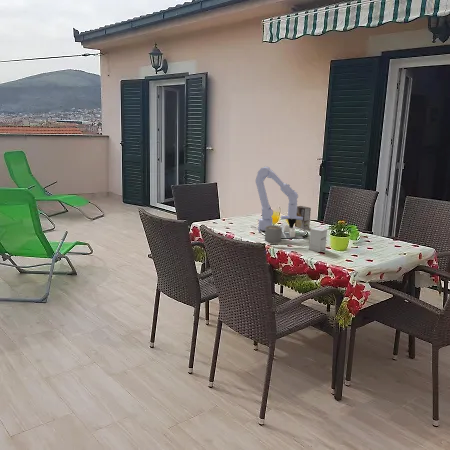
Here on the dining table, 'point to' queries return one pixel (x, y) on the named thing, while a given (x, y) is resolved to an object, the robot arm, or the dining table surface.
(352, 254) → the dining table surface
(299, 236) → the console
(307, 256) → the dining table surface
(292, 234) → the slider front
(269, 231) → the coffee mug
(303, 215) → the coffee box
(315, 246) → the supplement box
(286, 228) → the slider back
